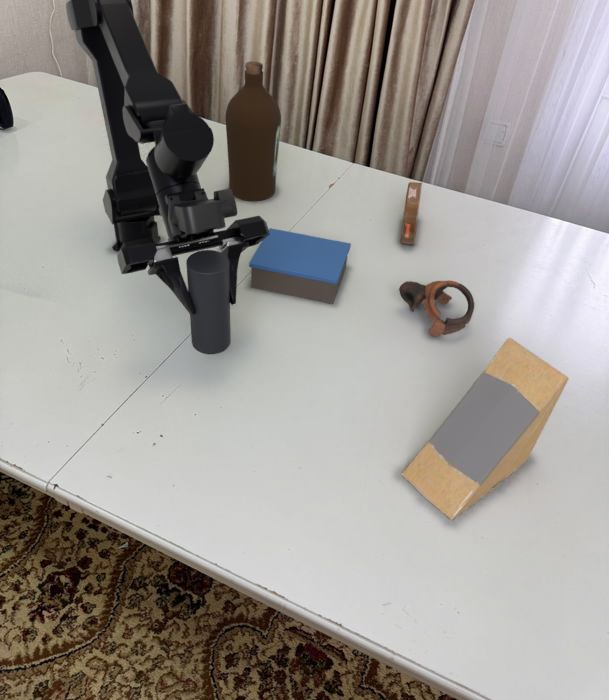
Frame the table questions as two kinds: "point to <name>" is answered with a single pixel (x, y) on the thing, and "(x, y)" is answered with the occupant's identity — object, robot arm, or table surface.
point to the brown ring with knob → (427, 294)
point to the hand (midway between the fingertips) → (213, 309)
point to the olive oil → (253, 138)
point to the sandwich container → (488, 430)
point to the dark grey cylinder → (209, 300)
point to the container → (299, 265)
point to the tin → (411, 213)
